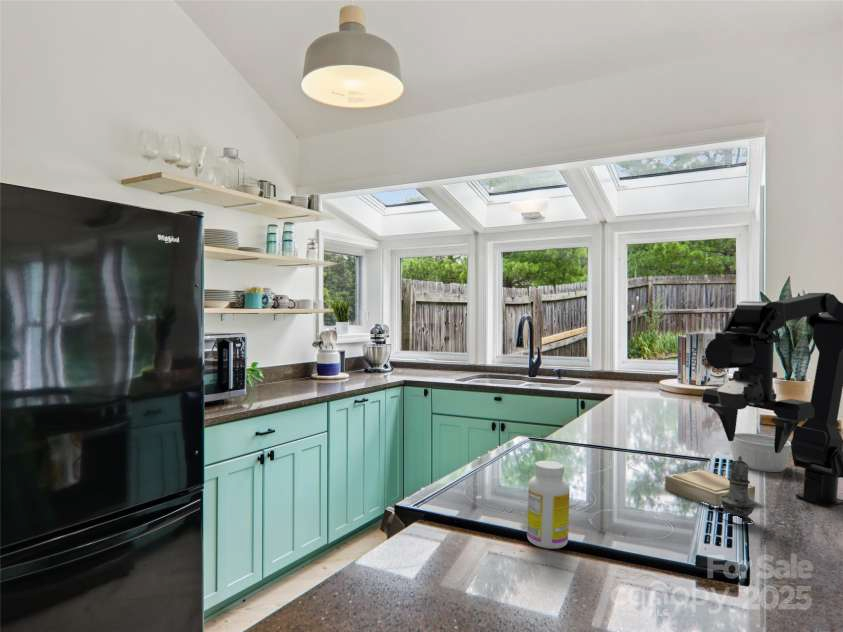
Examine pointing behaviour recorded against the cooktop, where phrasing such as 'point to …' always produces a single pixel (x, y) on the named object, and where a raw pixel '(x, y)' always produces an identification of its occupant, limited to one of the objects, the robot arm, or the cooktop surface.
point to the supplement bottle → (548, 506)
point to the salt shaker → (738, 492)
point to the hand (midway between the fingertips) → (753, 446)
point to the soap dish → (702, 486)
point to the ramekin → (760, 452)
